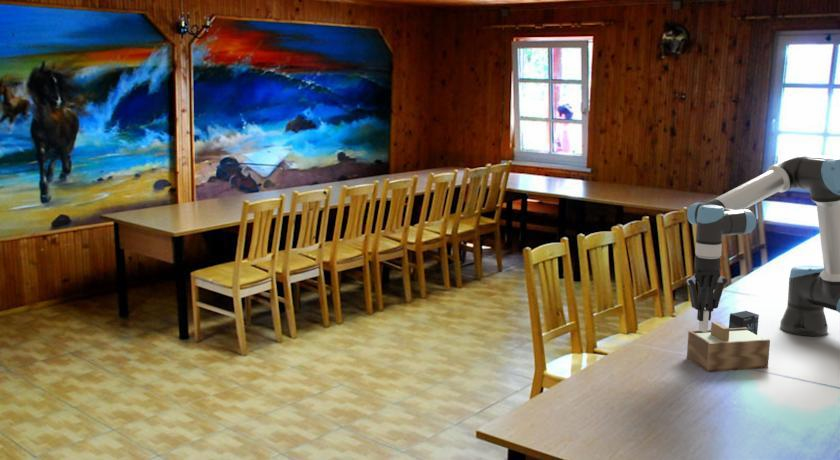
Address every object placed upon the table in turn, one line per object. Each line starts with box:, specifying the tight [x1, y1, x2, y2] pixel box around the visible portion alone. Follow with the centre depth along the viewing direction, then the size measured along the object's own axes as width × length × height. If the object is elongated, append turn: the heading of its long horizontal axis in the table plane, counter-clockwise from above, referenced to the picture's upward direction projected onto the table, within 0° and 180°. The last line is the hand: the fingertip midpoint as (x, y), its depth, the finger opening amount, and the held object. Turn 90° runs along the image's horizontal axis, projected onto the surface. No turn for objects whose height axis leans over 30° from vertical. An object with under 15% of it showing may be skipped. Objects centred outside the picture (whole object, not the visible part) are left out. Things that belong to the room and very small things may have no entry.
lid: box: [695, 321, 765, 343], centre depth 252 cm, size 19×11×5 cm, turn 100°
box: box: [728, 310, 760, 335], centre depth 271 cm, size 8×6×11 cm
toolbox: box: [686, 327, 771, 373], centre depth 253 cm, size 20×13×9 cm, turn 100°
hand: (703, 330), depth 250 cm, fingers closed
